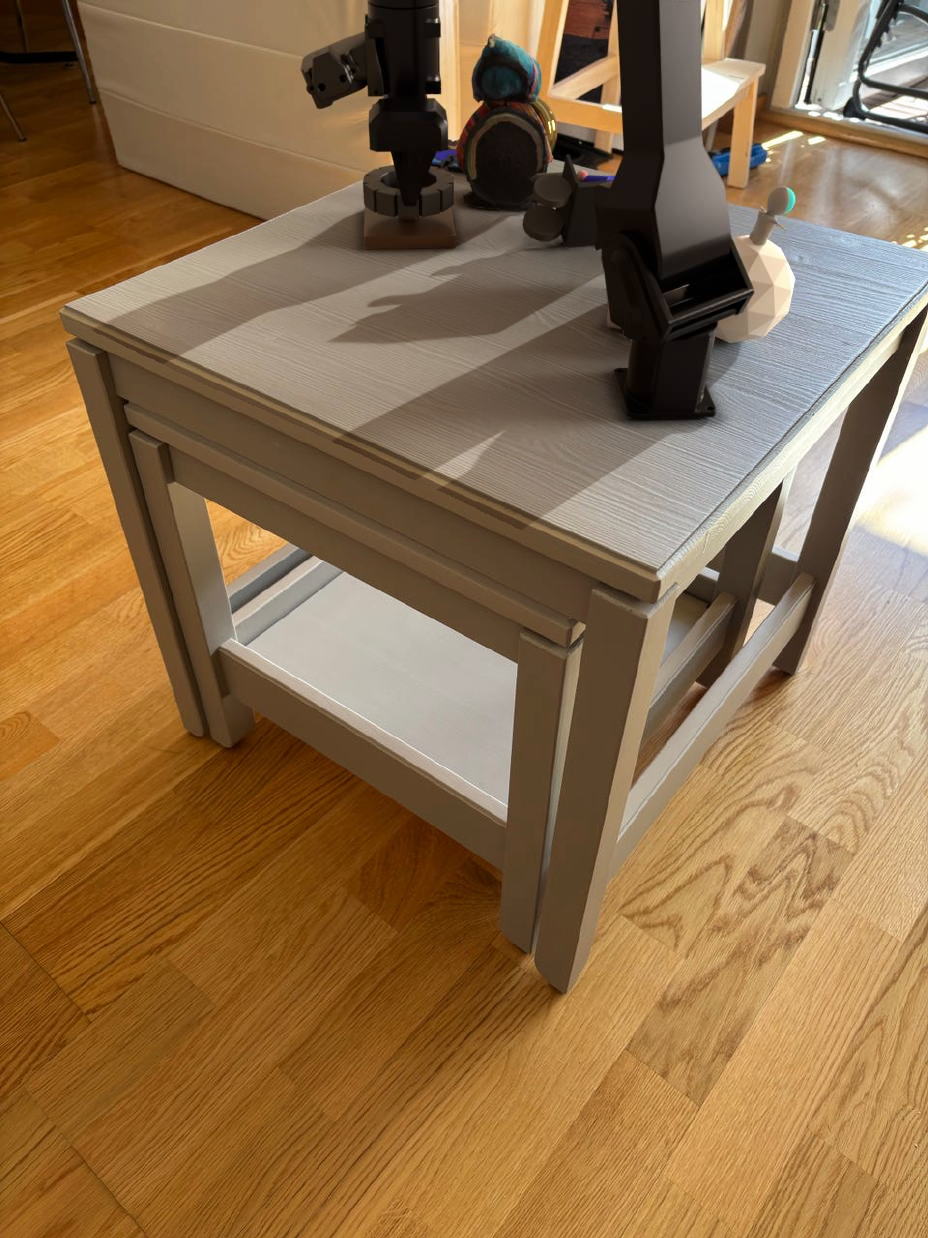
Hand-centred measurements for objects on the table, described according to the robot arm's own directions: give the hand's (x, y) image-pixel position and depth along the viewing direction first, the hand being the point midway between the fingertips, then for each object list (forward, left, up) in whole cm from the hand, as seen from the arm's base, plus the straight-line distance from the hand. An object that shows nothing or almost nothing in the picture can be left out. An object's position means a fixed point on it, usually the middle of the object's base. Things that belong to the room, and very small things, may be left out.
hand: (409, 201), depth 87 cm
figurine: (+11, -10, -4) cm, 15 cm away
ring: (+3, 0, -1) cm, 4 cm away
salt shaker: (+15, -11, +1) cm, 19 cm away
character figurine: (0, -18, -4) cm, 18 cm away
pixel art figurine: (+19, -4, -4) cm, 20 cm away
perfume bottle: (-19, -24, -4) cm, 31 cm away
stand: (+3, 0, -4) cm, 5 cm away
